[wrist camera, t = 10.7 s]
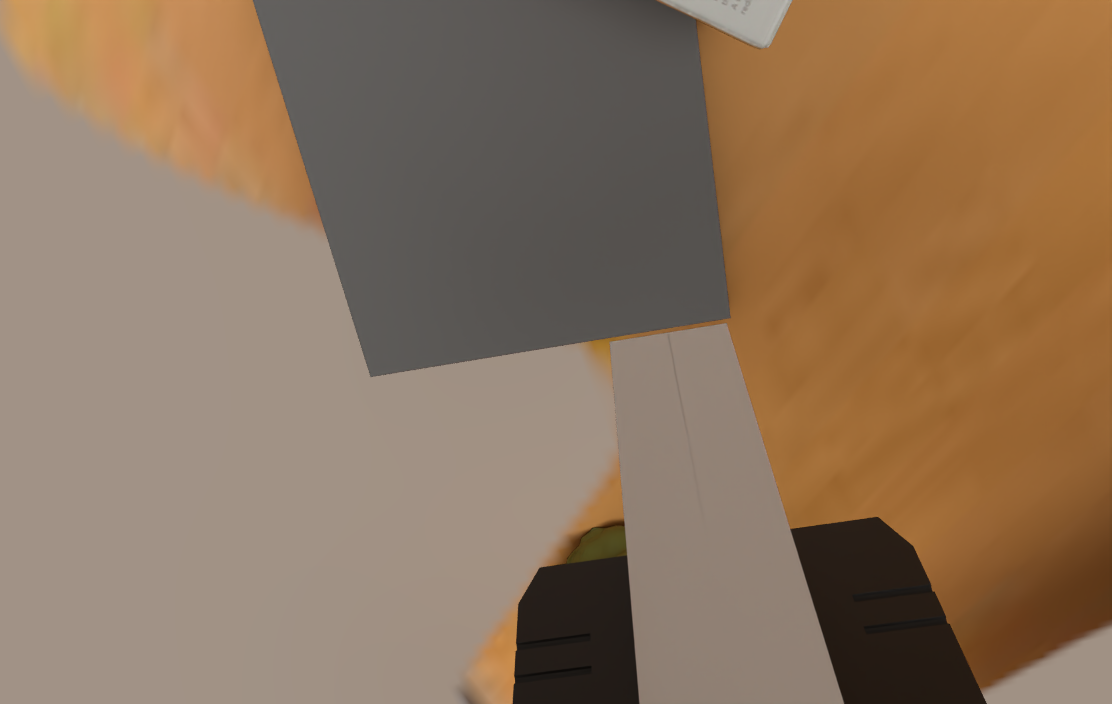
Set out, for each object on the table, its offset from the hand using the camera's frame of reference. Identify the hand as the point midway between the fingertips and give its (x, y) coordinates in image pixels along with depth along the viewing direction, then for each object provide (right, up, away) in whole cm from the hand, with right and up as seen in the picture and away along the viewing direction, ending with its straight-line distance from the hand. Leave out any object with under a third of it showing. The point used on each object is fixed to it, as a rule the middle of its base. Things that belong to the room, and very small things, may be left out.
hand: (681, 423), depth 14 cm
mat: (-3, +8, +20) cm, 22 cm away
